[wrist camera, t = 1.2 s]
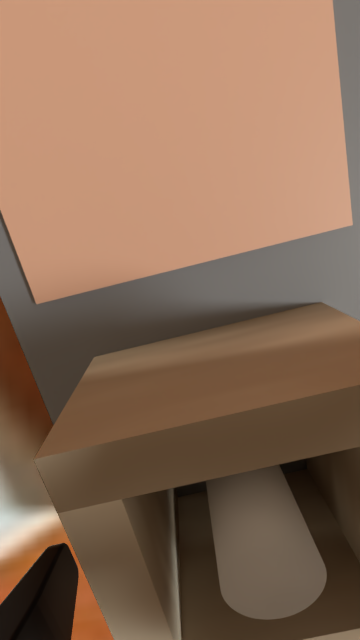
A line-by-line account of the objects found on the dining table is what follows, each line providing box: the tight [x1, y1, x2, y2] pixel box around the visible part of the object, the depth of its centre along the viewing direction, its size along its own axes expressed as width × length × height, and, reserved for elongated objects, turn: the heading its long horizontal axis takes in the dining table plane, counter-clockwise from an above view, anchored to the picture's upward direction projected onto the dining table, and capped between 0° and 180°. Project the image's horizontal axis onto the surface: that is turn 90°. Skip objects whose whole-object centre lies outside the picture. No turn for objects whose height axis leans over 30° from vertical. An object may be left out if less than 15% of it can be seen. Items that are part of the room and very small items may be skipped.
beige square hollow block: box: [33, 302, 360, 640], centre depth 8 cm, size 7×7×4 cm
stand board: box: [0, 0, 360, 620], centre depth 7 cm, size 20×11×6 cm, turn 14°
